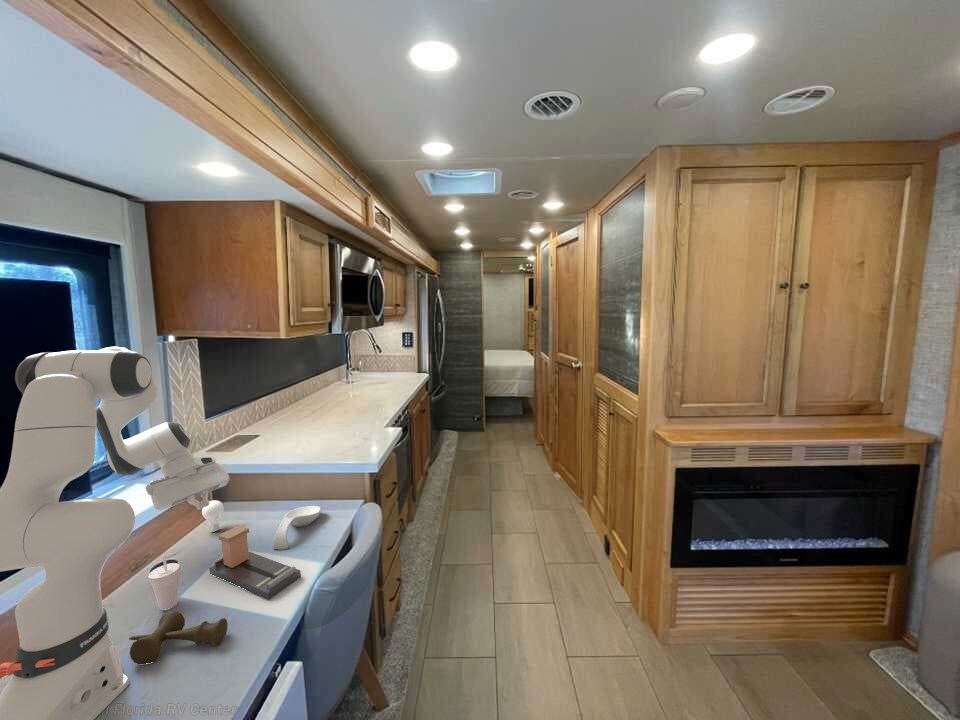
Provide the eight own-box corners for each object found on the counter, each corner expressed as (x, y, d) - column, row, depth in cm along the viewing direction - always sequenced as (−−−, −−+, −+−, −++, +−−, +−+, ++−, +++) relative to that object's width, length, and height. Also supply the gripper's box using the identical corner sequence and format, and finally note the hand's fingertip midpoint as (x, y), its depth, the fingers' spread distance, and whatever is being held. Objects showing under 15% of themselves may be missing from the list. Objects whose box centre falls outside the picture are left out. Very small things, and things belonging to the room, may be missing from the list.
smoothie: (166, 616, 98) (159, 563, 96) (145, 613, 99) (138, 560, 97) (190, 598, 104) (184, 548, 102) (170, 595, 105) (164, 546, 104)
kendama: (211, 661, 84) (111, 669, 83) (235, 628, 94) (146, 634, 92) (210, 635, 84) (109, 642, 82) (234, 604, 94) (144, 610, 92)
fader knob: (221, 565, 114) (218, 535, 113) (241, 553, 119) (238, 525, 118) (231, 569, 112) (228, 538, 111) (251, 557, 117) (248, 528, 116)
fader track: (209, 574, 114) (208, 563, 113) (243, 555, 122) (242, 544, 122) (268, 600, 102) (266, 587, 102) (300, 577, 111) (299, 565, 110)
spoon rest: (295, 514, 148) (293, 496, 147) (326, 513, 148) (324, 495, 148) (262, 551, 125) (260, 530, 124) (300, 549, 125) (298, 528, 124)
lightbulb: (208, 538, 133) (204, 507, 132) (201, 532, 137) (198, 502, 136) (229, 529, 138) (225, 500, 137) (221, 524, 142) (218, 495, 141)
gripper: (145, 478, 113) (168, 517, 110) (219, 455, 131) (240, 487, 128) (140, 490, 116) (161, 528, 112) (213, 466, 134) (233, 498, 130)
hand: (204, 506), depth 120 cm, fingers closed
